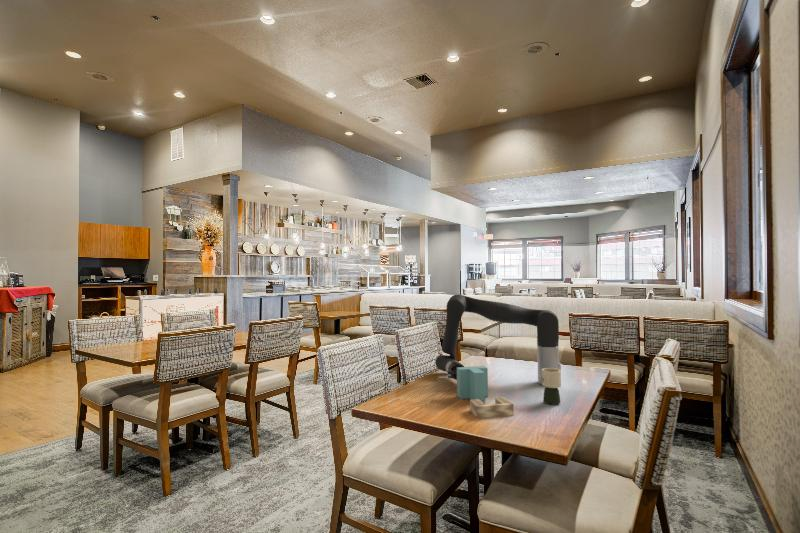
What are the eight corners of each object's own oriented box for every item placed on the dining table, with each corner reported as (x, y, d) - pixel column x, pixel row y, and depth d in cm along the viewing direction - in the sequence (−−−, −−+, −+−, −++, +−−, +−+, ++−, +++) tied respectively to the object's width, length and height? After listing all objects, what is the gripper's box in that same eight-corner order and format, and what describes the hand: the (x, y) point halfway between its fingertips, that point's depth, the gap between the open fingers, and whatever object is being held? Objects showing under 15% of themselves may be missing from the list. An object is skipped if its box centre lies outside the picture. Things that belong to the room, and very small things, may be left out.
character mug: (546, 398, 172) (545, 366, 172) (564, 400, 168) (563, 368, 168) (538, 405, 163) (537, 371, 163) (557, 408, 159) (556, 373, 159)
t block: (484, 394, 179) (483, 365, 179) (494, 402, 168) (493, 371, 169) (457, 396, 177) (456, 367, 177) (465, 404, 166) (465, 373, 167)
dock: (504, 407, 161) (503, 397, 161) (513, 415, 153) (513, 404, 153) (470, 410, 159) (469, 399, 159) (477, 418, 151) (477, 406, 151)
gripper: (469, 376, 200) (482, 386, 183) (442, 378, 198) (452, 388, 181) (468, 361, 200) (481, 369, 183) (441, 362, 198) (452, 370, 181)
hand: (467, 378), depth 182 cm, fingers closed
